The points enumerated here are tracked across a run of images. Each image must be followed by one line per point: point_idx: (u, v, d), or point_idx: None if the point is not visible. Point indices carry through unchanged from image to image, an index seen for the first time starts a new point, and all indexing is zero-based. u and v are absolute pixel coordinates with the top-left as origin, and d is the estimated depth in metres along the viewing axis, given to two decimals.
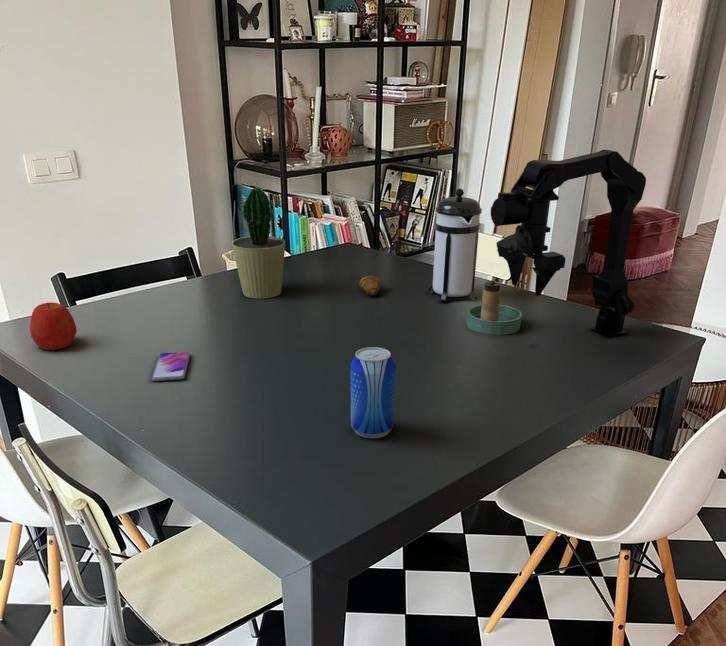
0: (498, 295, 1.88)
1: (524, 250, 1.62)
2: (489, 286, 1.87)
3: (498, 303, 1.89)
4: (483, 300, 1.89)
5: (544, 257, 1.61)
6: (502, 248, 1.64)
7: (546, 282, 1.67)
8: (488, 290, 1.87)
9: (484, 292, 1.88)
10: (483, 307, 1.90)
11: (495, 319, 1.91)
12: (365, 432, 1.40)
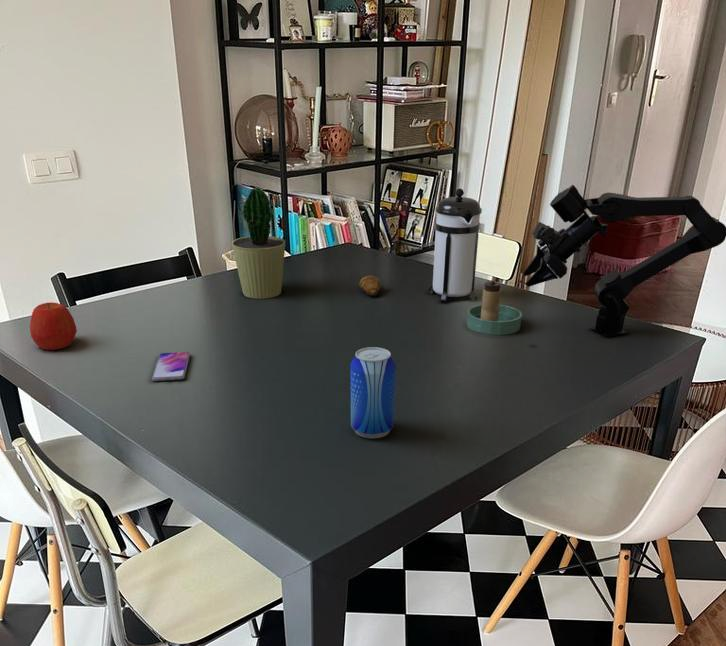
0: (498, 295, 1.88)
1: (548, 239, 1.76)
2: (489, 286, 1.87)
3: (498, 303, 1.89)
4: (483, 300, 1.89)
5: (554, 254, 1.74)
6: (538, 225, 1.79)
7: (541, 280, 1.80)
8: (488, 290, 1.87)
9: (484, 292, 1.88)
10: (483, 307, 1.90)
11: (495, 319, 1.91)
12: (365, 432, 1.40)
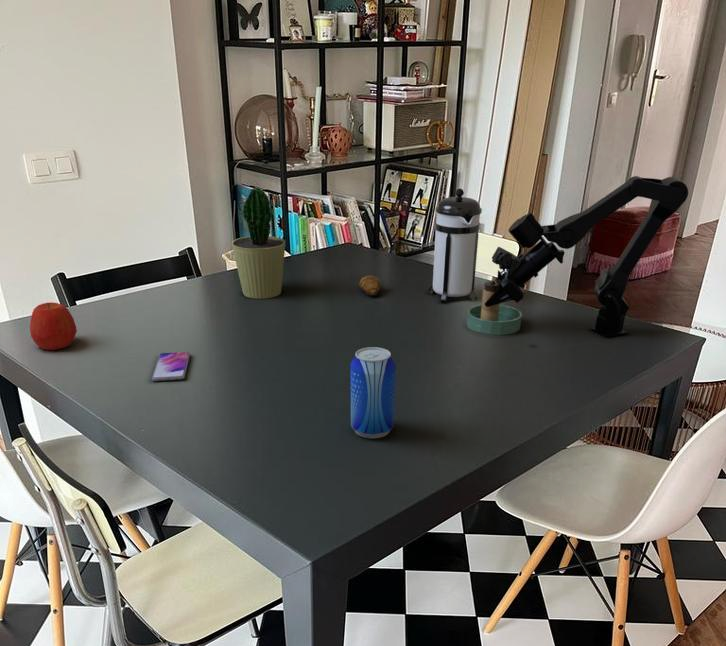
0: None
1: (506, 264, 1.81)
2: (489, 286, 1.87)
3: None
4: (483, 299, 1.89)
5: (511, 279, 1.79)
6: (497, 250, 1.83)
7: (499, 301, 1.87)
8: (488, 290, 1.87)
9: (484, 292, 1.88)
10: (483, 307, 1.90)
11: (495, 319, 1.91)
12: (365, 432, 1.40)
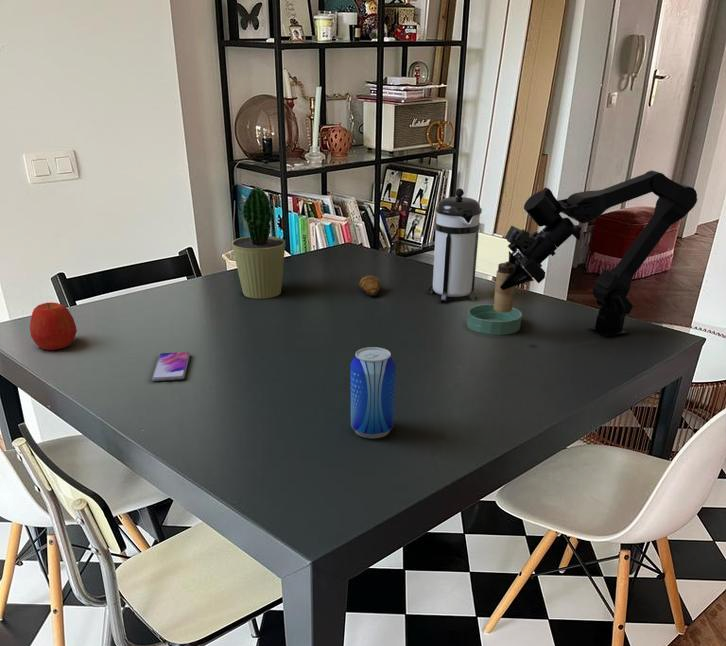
0: None
1: (524, 243, 1.71)
2: (504, 267, 1.77)
3: None
4: (497, 283, 1.79)
5: (532, 258, 1.69)
6: (511, 229, 1.73)
7: (516, 283, 1.77)
8: (503, 272, 1.77)
9: (499, 274, 1.78)
10: (498, 290, 1.80)
11: (510, 302, 1.81)
12: (365, 432, 1.40)
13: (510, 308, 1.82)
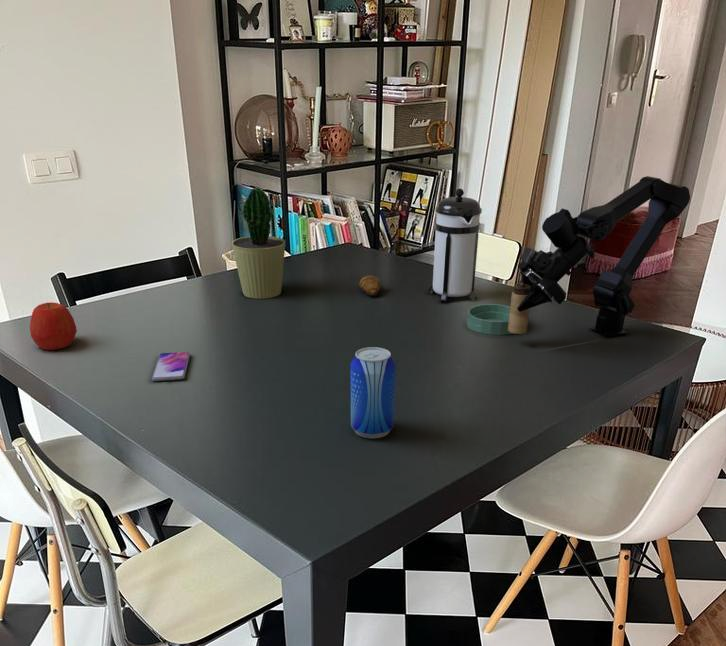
0: None
1: (543, 264, 1.68)
2: (521, 289, 1.73)
3: None
4: (513, 304, 1.76)
5: (553, 280, 1.66)
6: (528, 250, 1.70)
7: (533, 304, 1.74)
8: (520, 294, 1.74)
9: (515, 296, 1.74)
10: (514, 312, 1.76)
11: (526, 324, 1.78)
12: (365, 432, 1.40)
13: (526, 329, 1.79)
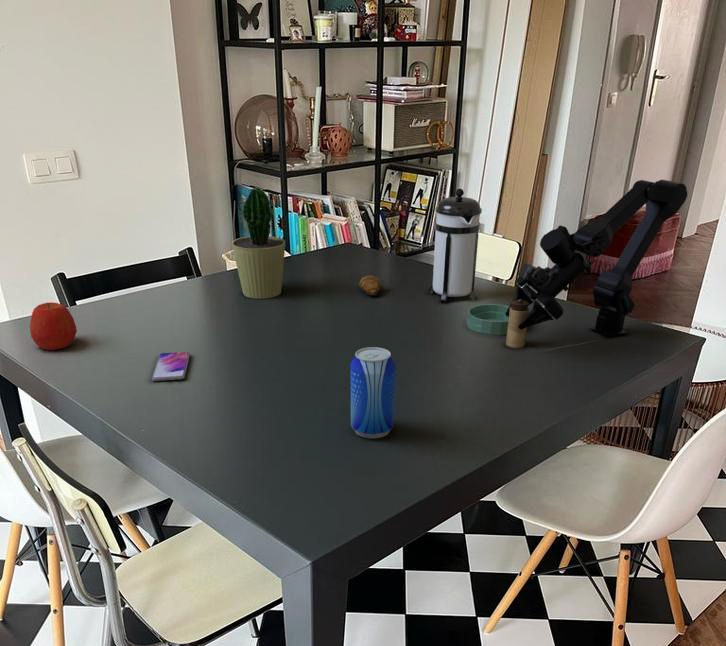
0: (527, 314, 1.77)
1: (540, 280, 1.70)
2: (518, 305, 1.75)
3: None
4: (511, 320, 1.78)
5: (550, 296, 1.68)
6: (526, 266, 1.72)
7: (534, 322, 1.74)
8: (518, 310, 1.76)
9: (513, 312, 1.76)
10: (512, 328, 1.78)
11: (524, 339, 1.80)
12: (365, 432, 1.40)
13: (523, 344, 1.81)
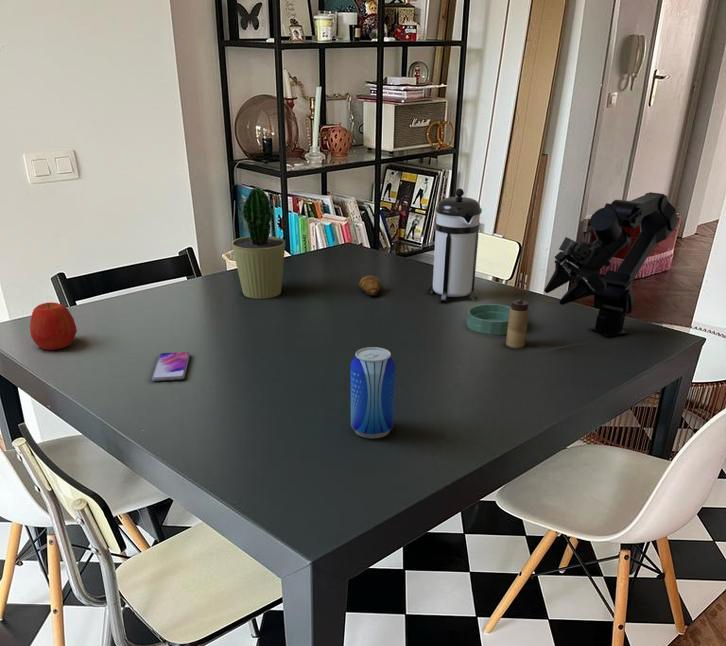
0: (527, 314, 1.77)
1: (583, 254, 1.69)
2: (518, 305, 1.75)
3: None
4: (511, 320, 1.78)
5: (593, 270, 1.67)
6: (568, 241, 1.70)
7: (576, 298, 1.72)
8: (518, 310, 1.76)
9: (513, 312, 1.76)
10: (512, 328, 1.78)
11: (524, 339, 1.80)
12: (365, 432, 1.40)
13: (523, 344, 1.81)
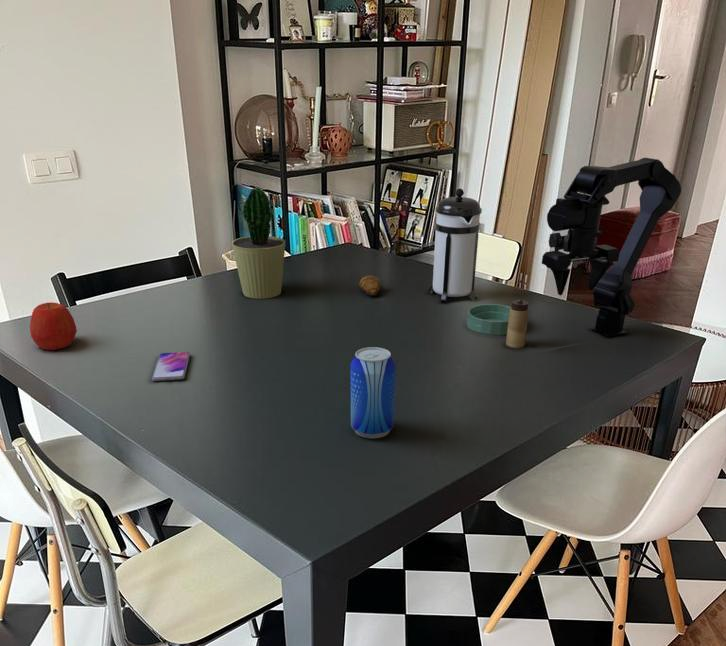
0: (527, 314, 1.77)
1: (554, 244, 1.74)
2: (518, 305, 1.75)
3: None
4: (511, 320, 1.78)
5: None
6: None
7: (561, 282, 1.73)
8: (518, 310, 1.76)
9: (513, 312, 1.76)
10: (512, 328, 1.78)
11: (524, 339, 1.80)
12: (365, 432, 1.40)
13: (523, 344, 1.81)
